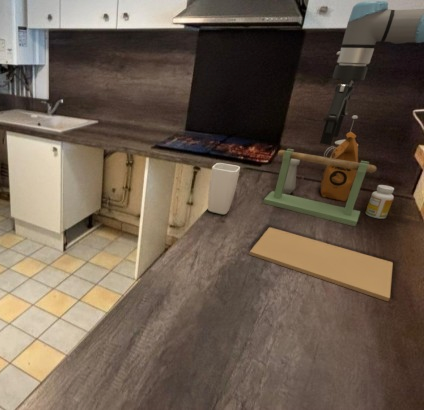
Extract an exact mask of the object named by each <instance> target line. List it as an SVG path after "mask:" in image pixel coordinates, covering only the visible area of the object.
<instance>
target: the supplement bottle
mask: <svg viewBox="0 0 424 410" xmlns="http://www.w3.org/2000/svg"><path fill="white" fill-rule="evenodd" d="M394 190H395V187H393V186H390V185H385V184H378V185H377V186H376V190H375V191H373V192H372V193H371V195H370V199H369V201H368V204H367V206H366V208H365V209H366V210H365V215H367V216H368V217H370V218H374V219H380V220H381V219H382V220H383V219H386V218H387V216H388V214H389V212H390V209H391V206H392V204H393V201H394V198H395V197H394V195H393V193H394V192H395V191H394Z"/></svg>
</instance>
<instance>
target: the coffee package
mask: <svg viewBox="0 0 424 410" xmlns="http://www.w3.org/2000/svg"><path fill="white" fill-rule="evenodd" d="M345 137H346V139H344V140H345V141H344V142H343V143H341V144H340V145H337V146H336V149H335V148H334V150H333V151H332V152H331V155H330V156H329V158H333V159H339V160H345V161H351V162H357V163H359V147H358V146H359V145H358V146H357V144H358V143H357V141H356V138H357V135H356V134H355V133H354V132H352V131H351V132H350V131H349V132H347V133H346V134H345ZM356 174H357V170H353V169H348V168H342V167H336V166H330V165H325V166H324V169H323V172H322V177H321V182H320V195H321V197H323V198H328V199H329V200H330V199H331V200H336V201H341V202H347V200H348V197H349V194H350V191H351V188H352V185H353V182H354V180H355V177H356Z"/></svg>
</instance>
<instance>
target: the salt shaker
mask: <svg viewBox="0 0 424 410" xmlns="http://www.w3.org/2000/svg"><path fill="white" fill-rule="evenodd" d="M300 163H301V160H296V159H291V162H290V166H289V170H288V174H287V178H286V181H285V185H284V189H283V194H287V195H291V193H292V192H293V191H294V190H295V189H296V185H297V172H298V171H297V169H298V166H299V165H300Z"/></svg>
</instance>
